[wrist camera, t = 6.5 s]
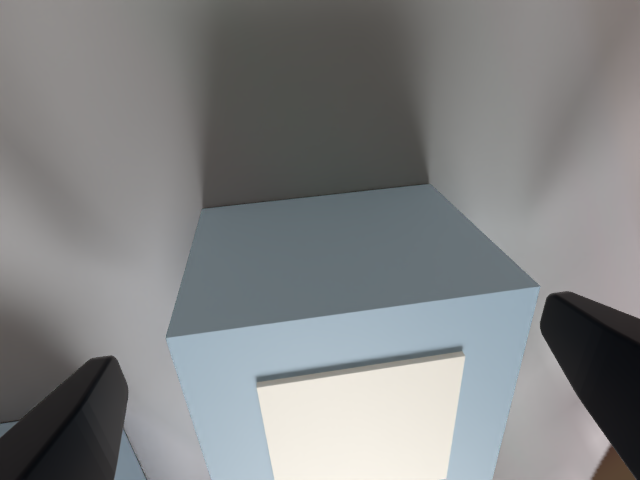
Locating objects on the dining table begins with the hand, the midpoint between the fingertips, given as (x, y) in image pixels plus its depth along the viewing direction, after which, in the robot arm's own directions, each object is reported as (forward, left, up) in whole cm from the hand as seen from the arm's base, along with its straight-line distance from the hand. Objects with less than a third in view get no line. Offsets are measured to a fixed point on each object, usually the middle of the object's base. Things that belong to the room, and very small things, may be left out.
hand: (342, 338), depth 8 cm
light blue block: (0, 0, -2) cm, 2 cm away
